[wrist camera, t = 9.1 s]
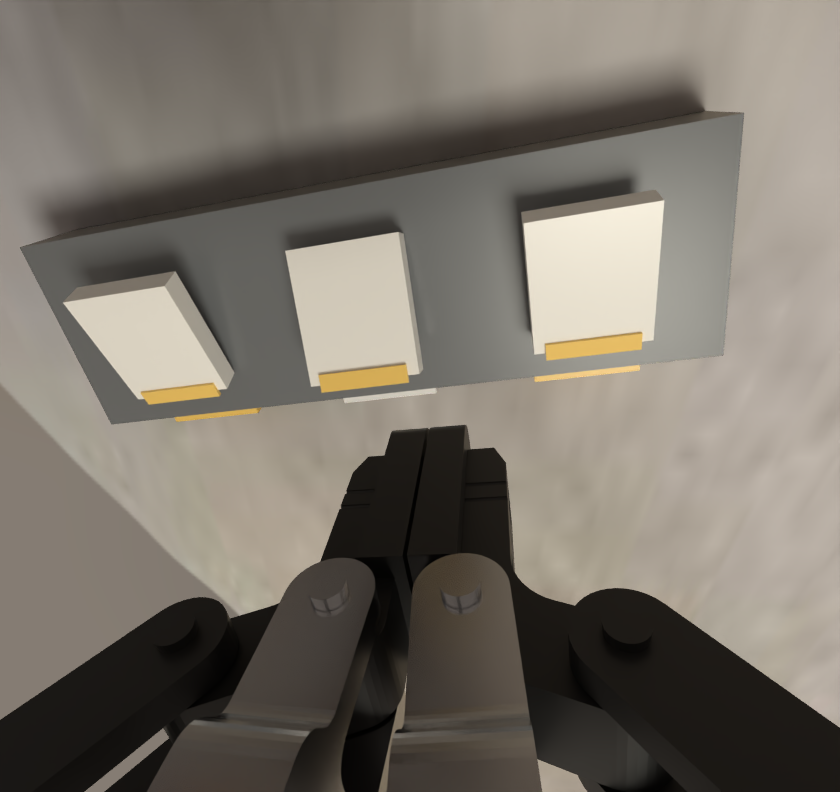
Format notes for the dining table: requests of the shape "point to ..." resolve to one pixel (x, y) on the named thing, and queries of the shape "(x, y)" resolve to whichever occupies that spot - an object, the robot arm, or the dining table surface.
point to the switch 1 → (153, 337)
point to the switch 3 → (593, 274)
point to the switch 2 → (356, 312)
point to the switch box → (420, 263)
